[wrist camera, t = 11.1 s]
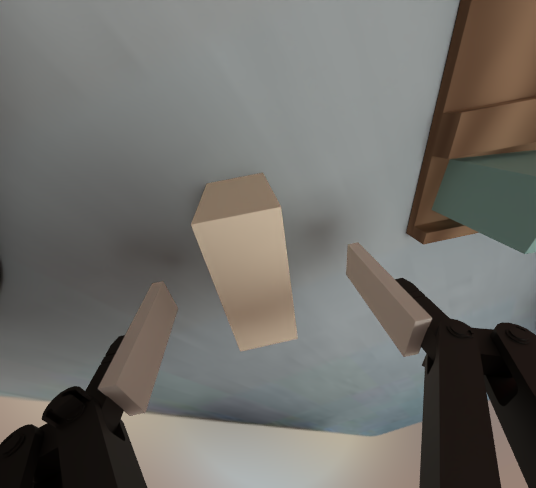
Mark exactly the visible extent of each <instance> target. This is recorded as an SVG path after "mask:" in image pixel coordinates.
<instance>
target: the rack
mask: <svg viewBox="0 0 536 488" xmlns="http://www.w3.org/2000/svg"><path fill="white" fill-rule="evenodd" d="M530 150H536V0H461V1H460V5H459V10H458V14H457V18H456V22H455V27H454V31H453V35H452V40H451V44H450V48H449V52H448V57H447V61H446V65H445V69H444V74H443V78H442V82H441V87H440V91H439V95H438V99H437V104H436V108H435V112H434V116H433V121H432V125H431V129H430V134H429V138H428V142H427V146H426V151H425V155H424V159H423V163H422V168H421V172H420V176H419V181H418V185H417V189H416V193H415V198H414V202H413V206H412V210H411V215H410V219H409V223H408V228H407V232H406V233H407V234H409V235H410V236H411V237H413V238H414V239H416V240H417V241H419V242H420V243H422V244H427V243H432V242H437V241H442V240H446V239H451V238H456V237H460V236H465V235H470V234H475V233H479V232H477V231H475V230H473V229H471V228H469V227H467V226H465V225H462V224H460V223H458V222H456V221H454V220H452V219H450V218H448V217H446V216H443V215H441V214H439V213H437V212H435V211H433V210H431V209H432V207H433V204H434V201H435V198H436V196H437V193H438V190H439V187H440V185H441V182H442V179H443V177H444V174H445V171H446V168H447V166H448V163H449V160H450V159H456V158H465V157H474V156H484V155H493V154H502V153H511V152H521V151H530Z"/></svg>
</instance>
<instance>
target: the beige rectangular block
mask: <svg viewBox="0 0 536 488" xmlns="http://www.w3.org/2000/svg"><path fill="white" fill-rule="evenodd" d="M191 226H192V229H193V231H194V234H195V236H196V239H197V242H198V244H199V247H200V249H201V252H202V254H203V257H204V260H205V262H206V265H207V267H208V270H209V272H210V275H211V277H212V280H213V283H214V285H215V288H216V290H217V293H218V295H219V298H220V300H221V303H222V306H223V308H224V311H225V313H226V316H227V318H228V321H229V323H230V326H231V329H232V331H233V334H234V336H235V339H236V341H237V344H238V346H239V349H240V351H245V350H249V349H254V348H258V347H262V346H267V345H271V344H276V343H280V342H284V341H289V340H293V339H298V338H297V330H296V322H295V314H294V306H293V298H292V290H291V282H290V274H289V266H288V258H287V250H286V242H285V234H284V226H283V218H282V211H281V206H280V204H279V202H278V200H277V198H276V196H275V194H274V193H273V191H272V189H271V187H270V185H269V183H268V181H267V179H266V177H265V176H264V174H263V173H259V174H254V175H248V176H243V177H238V178H233V179H228V180H222V181H217V182H212V183H207V184H206V187H205V189H204V192H203V195H202V197H201V200H200V202H199V205H198V208H197V210H196V213H195V215H194V218H193V221H192V223H191Z"/></svg>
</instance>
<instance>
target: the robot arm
mask: <svg viewBox="0 0 536 488" xmlns="http://www.w3.org/2000/svg"><path fill="white" fill-rule="evenodd" d="M346 275H347V276H348V278H349V279H350V281H351V282H352V283H353V285H354V286H355V288H356V289H357V291H358V292H359V293H360V295H361V296H362V298H363V299H364V301H365V302H366V303H367V305H368V306H369V308H370V309H371V311H372V312H373V313H374V315H375V316H376V318H377V319H378V321H379V322H380V323H381V325H382V326H383V328H384V329H385V331H386V332H387V334H388V335H389V336H390V338H391V339H392V341H393V342H394V344H395V345H396V346H397V348H398V349H399V351H400V352H401V354H402V355H403V356H404V357H406V356H410V355H415V354H418V353H419V351H420V348H421V347H422V348H423V350H424V351H425V352H426V353H427V354H426V356H425V359H424V361H423V364H422V366H424V367H425V378H424V400H423V422H422V444H421V467H420V488H501V484H500V477H499V471H498V464H497V458H496V452H495V445H494V439H493V432H492V427H491V419H490V414H489V407H488V400H487V394H488V397H489V399H490V401H491V403H492V406H493V408H494V410H495V412H496V415H497V417H498V419H499V421H500V423H501V426H502V428H503V430H504V433H505V435H506V437H507V440H508V442H509V444H510V446H511V449H512V451H513V453H514V456H515V458H516V460H517V462H518V465H519V467H520V469H521V471H522V474H523V476H524V478H525V480H526V483H527V485H528V487H529V488H536V335H535V334H534V333H532V332H531V331H529V330H527V329H526V328H524V327H521V326H519V325H516V324H512V323H500V324H497V326H496V327H495V329H494V330H492V329H479V328H471V327H470V326H468V325H467V324H465V323H463V322H461V321H458V320H455V319H450V318H449V317H448V316H447V315H445V314H444V313H443V312H442V311H441V310H440V309H439V308H438V307H437V306H436V305H435V304H434V303H433V302H432V301H431V300H430V299H428V298H427V297H425V295H424V294H423V293H422V292H421V291H419V289H418V288H417V287H416V286H415V285H414V284H412V283H411V282H409V281H407V280H405V279H404V278H400V279H394V278H393V277H392V276H391V275H390V274H389V273H388V272H387V271H386V270H385V269H384V268H383V267H382V266H381V265H380V264H379V263H378V262H377V261H376V260H375V259H374V258H373V257H372V256H371V255H370V254H369V253H368V252H367V251H366V250H365V249H364V248H363V247H362V246H361V245H360V244H359V243H353V244H348V250H347V268H346ZM177 310H178V307H177V305H176V304H175V302H174V300H173V298H172V296H171V294H170V293H169V291H168V289H167V287H166V285H165V284H164V282H163V281H162V282H157V283H152V285H151V287H150V288H149V290H148V292H147V294H146V296H145V298H144V300H143V302H142V304H141V306H140V308H139V310H138V312H137V314H136V315H135V317H134V319H133V321H132V323H131V325H130V327H129V329H128V331H127V333H126V335H124V336H119V337H118V338H117V339H116V340H115V341H114V343H113V344H112V345H111V346H110V348H109V350H108V351H107V353H106V357H104V359H103V360H102V362H101V365H100V366H99V368H98V369H97V371H96V373H95V375H94V376H93V378H92V380H91V382H90V384H89V385H88V387H87V389H86V391H84V390H83V389H82V388H80V387H77V386H74V387H71V388H68V389H66V390H64V391H63V392H61V393H60V394H59V395H57V396H56V397H55V398H54V399H53V400H52V401H51V402H50V403H49V405H48V406H47V407H46V409H45V411H44V413H43V416H42V420H44V421H45V422H47V424H45V425H43V426H41V427H40V428H38V427H36V426H34V425H32V424H31V425H25V426H23V427H21V428H19V429H17V430H16V431H14V432H13V433H11V434H10V435H9V436H8V437H7V438H6V439H5V440H4V441H3V442H2V443H1V444H0V488H147V486H146V483H145V480H144V477H143V475H142V472H141V469H140V467H139V464H138V461H137V458H136V456H135V453H134V450H133V447H132V445H131V442H130V439H129V437H128V434H127V431H126V428H125V426H124V423H123V421H122V420H121V416H122V414H123V411H125V412H126V413H127V414H128V415H129V416H132V415H136V414H141V413H145V412H146V409H147V406H148V403H149V400H150V396H151V393H152V390H153V387H154V384H155V380H156V377H157V374H158V371H159V368H160V364H161V361H162V358H163V355H164V352H165V349H166V345H167V342H168V339H169V336H170V333H171V329H172V326H173V323H174V320H175V317H176V314H177ZM486 392H487V394H486Z"/></svg>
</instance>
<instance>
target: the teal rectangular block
mask: <svg viewBox="0 0 536 488" xmlns="http://www.w3.org/2000/svg"><path fill="white" fill-rule="evenodd" d="M431 210H433V211H435V212H437V213H439V214H441V215H443V216H446V217H448V218H450V219H452V220H454V221H456V222H458V223H460V224H462V225H465V226H467V227H469V228H471V229H473V230H475V231H477V232H479V233H481V234H484V235H486V236H488V237H490V238H492V239H494V240H496V241H498V242H500V243H503V244H505V245H507V246H509V247H511V248H513V249H515V250H517V251H519V252H522V253H524V254H528V253H534V252H536V150H530V151H521V152H511V153H502V154H493V155H484V156H474V157H465V158H456V159H450V160H449V163H448V166H447V168H446V171H445V174H444V177H443V179H442V182H441V185H440V187H439V190H438V193H437V196H436V198H435V201H434V204H433V207H432V209H431Z"/></svg>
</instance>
